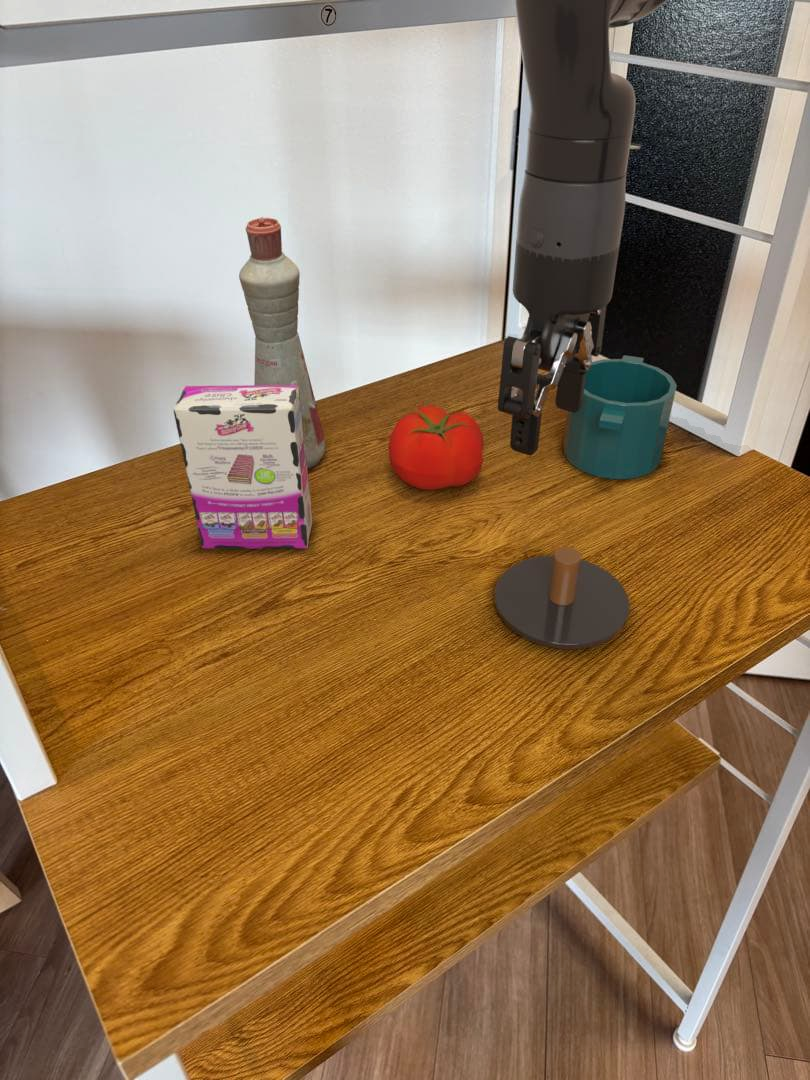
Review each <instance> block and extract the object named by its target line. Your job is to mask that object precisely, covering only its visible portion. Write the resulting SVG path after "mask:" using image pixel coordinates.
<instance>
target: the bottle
mask: <svg viewBox="0 0 810 1080" xmlns="http://www.w3.org/2000/svg"><path fill="white" fill-rule="evenodd" d="M281 226H282V225H281V224H280V223H279V220H278V219H276V218H270V217H264V216H261V217H259V218H254V219H252V220H250V221H248V222H247V224H246V226H245V233H246V235H247V241H248V245H249V250H250V256H249V259H248V260H247V261H246V262H245V263H244V264H243V266H242V267H241V269H240V270H239V274H238V278H239V282H240V286H241V289H242V291H243V296H244V300H245V304H246V306H247V312H248V314H249V318H250V320H251V325H252V328H253V333H254V336H255V337H254V385H298V388H299V396H300V407H301V416H302V425H303V434H304V445H305V454H306V462H307V470H309V469H312V468H313V467H316V466H317V465H318V463H320V461H321V460H322V459H323V456H324V455H325V452H326V438H325V434H324V431H323V427H322V422H321V419H320V415H319V411H318V407H317V402H316V398H315V395H314V390H313V386H312V382H311V378H310V374H309V371H308V370H309V369H308V367H307V366H308V365H307V362H306V359H305V358H306V357H305V354H304V350H303V346H302V343H301V339H300V334H299V332H298V324H299V318H298V315H299V298H300V297H299V296H300V287H299V286H300V270H299V267H298V266H297V264H296V263H295V262H294V261H293V260H292V259H290V257H288V256H287V255H286V254H285V253H284V251H283V245H282V243H283V242H282V227H281Z"/></svg>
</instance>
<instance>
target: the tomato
mask: <svg viewBox="0 0 810 1080" xmlns="http://www.w3.org/2000/svg"><path fill="white" fill-rule="evenodd" d="M413 411H414V412H413V413H412V414H405V415H403V417H401V418H399V420H397V423H395V425H394V427H393V429H392V431H391V433H390V435H389V440H388V447H387V449H388V458H389V464H390V466H391V467H392V469H393V470H394V472H395V473H396V475H397V476H398V478H400V480H402V481H403V482H405V483H406V484H407V485H409V486H411V487H413V488H416V489H419V490H428V491H434V490H439V489H444V488H446V487H452V488H453V487H454V488H455V487H456V488H457V487H460V486H461V487H462V486H464V485H466V484H468V483H470V482H471V481H472V480H473V479H475V478H476V477H477V476H478V474H479V472H480V471H481V470H482V465H483V462H484V457H483V451H484V447H485V442H484V435H483V432H482V430H481V426H480V425H479V424H478V423H477V422H476V420H475V419H474V418H473V417H472V416H471V415H470V414H469V413H466V412H462V411H459V412H455V413H453V414H451V413H447V412H446V411H445V410H444V409H443V408H441V407H438V406H434V405H424V406H419V407H418V408H417V409H413Z"/></svg>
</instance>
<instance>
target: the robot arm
mask: <svg viewBox="0 0 810 1080" xmlns="http://www.w3.org/2000/svg"><path fill="white" fill-rule="evenodd" d="M668 1H669V0H514V6H515V14H516V15H515V17H516V23H517V29H518V30H517V31H518V37H519V43H520V44H519V45H520V52H521V58H522V65H523V73H524V79H525V83H526V88H527V89H526V90H527V93H528V100H529V107H530V109H529V115H528V116H529V117H528V124H527V127H528V128H527V139H526V149H525V164H524V168H525V169H524V175H523V181H522V187H521V190H520V195H519V200H518V201H519V202H518V210H517V211H518V212H517V225H516V226H517V227H516V238H515V239H516V240H515V249H514V250H515V251H514V265H513V277H512V278H513V279H512V295H513V297H514V299H515V300H516V301H517V302H518V303H519V304H521V306H523V307H524V308H525V310H526V311H527V313H528V317H527V322H526V325H525V328H524V331H523V333H522V337H521V338H519V337H514V336H510V335H509V336H507V337H506V338H505V340H504V342H503V349H502V357H501V358H502V359H501V368H500V369H501V370H500V380H499V388H498V389H499V390H498V398H497V399H498V401H497V411H498V412H502V413H505V414H509V415H511V416H512V417H511V427H510V428H511V429H510V438H509V439H510V442H509V445H510V448H511V450H512V451H514V452H517V453H520V454H523V455H526V456H533V455H534V454H535V453H536V452H537V451H538V450H539V442H540V434H541V425H542V424H541V423H542V417H543V416H542V415H543V413H542V412H543V409H544V406H545V403H546V400H547V398H548V395H549V392H550V391H554V390H556V394H555V406H556V408H557V409H559V410H562V411H565V412H567V411H569V412H573V413H575V412H577V411H578V410H579V409H580V408H581V406H582V400H583V392H584V385H585V378H586V372H585V371H588V370H589V369H590V367H591V365H592V362H593V357H596V358H597V357H598V356H599V355H600V353H601V352H602V345H603V339H604V338H603V337H604V331H605V323H606V322H605V321H606V314H607V313H606V312H607V305H608V304H609V303H610V301H611V300H612V298H613V291H614V284H615V279H616V271H617V266H618V265H617V264H618V259H619V252H620V245H621V237H622V231H623V224H624V218H625V212H626V211H625V209H626V183H627V171H628V164H629V157H630V150H631V145H632V144H631V143H632V136H633V132H634V131H633V130H634V124H635V115H636V101H637V100H636V93H635V88H634V86H633V85H632V83H631V82H630V81H629V80H628V79H626V78H625V77H623V76H622V75H620V74H616V73H613V72H612V69H611V56H610V29H613V28H614V29H615V28H620V27H625V26H629V25H632V24H634V23H636V22H638V21H641V20H642V19H644V18H646V17H647V16H649V15H650V14H652V13H653V12H655V11H656V10H658V9H659V8H661V7H662V6H663V5H664V4H666V3H667V2H668ZM539 370H542V371H544V372H548V373H547V374H540V373H538V372H539ZM536 389H537V390H536Z"/></svg>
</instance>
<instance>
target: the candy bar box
mask: <svg viewBox="0 0 810 1080" xmlns="http://www.w3.org/2000/svg"><path fill="white" fill-rule="evenodd" d="M173 416H174V420H175V424H176V425H175V426H176V430H177V435H178V439H179V443H180V448H181V452H182V458H183V463H184V467H185V472H186V477H187V482H188V486H189V491H190V495H191V500H192V506H193V511H194V515H195V520H196V525H197V531H198V535H199V541H200V545H201V548H202V549H205V550H249V549H250V550H276V549H277V550H278V549H280V550H281V549H282V550H284V549H285V550H288V549H292V550H293V549H295V550H296V549H301V550H302V549H304V550H305V549H308V547H309V543H310V536H311V532H312V527H313V521H314V520H313V519H314V518H313V511H312V501H311V492H310V491H311V490H310V482H309V475H308V473H309V472H308V469H307V462H306V454H305V445H304V434H303V425H302V416H301V407H300V396H299V388H298V385H250V384H249V385H247V384H246V385H185V386H184V388H183V389H182V392H181V394H180V396H179V398H178V400H177V401H176V404H175V405H174V407H173Z"/></svg>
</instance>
